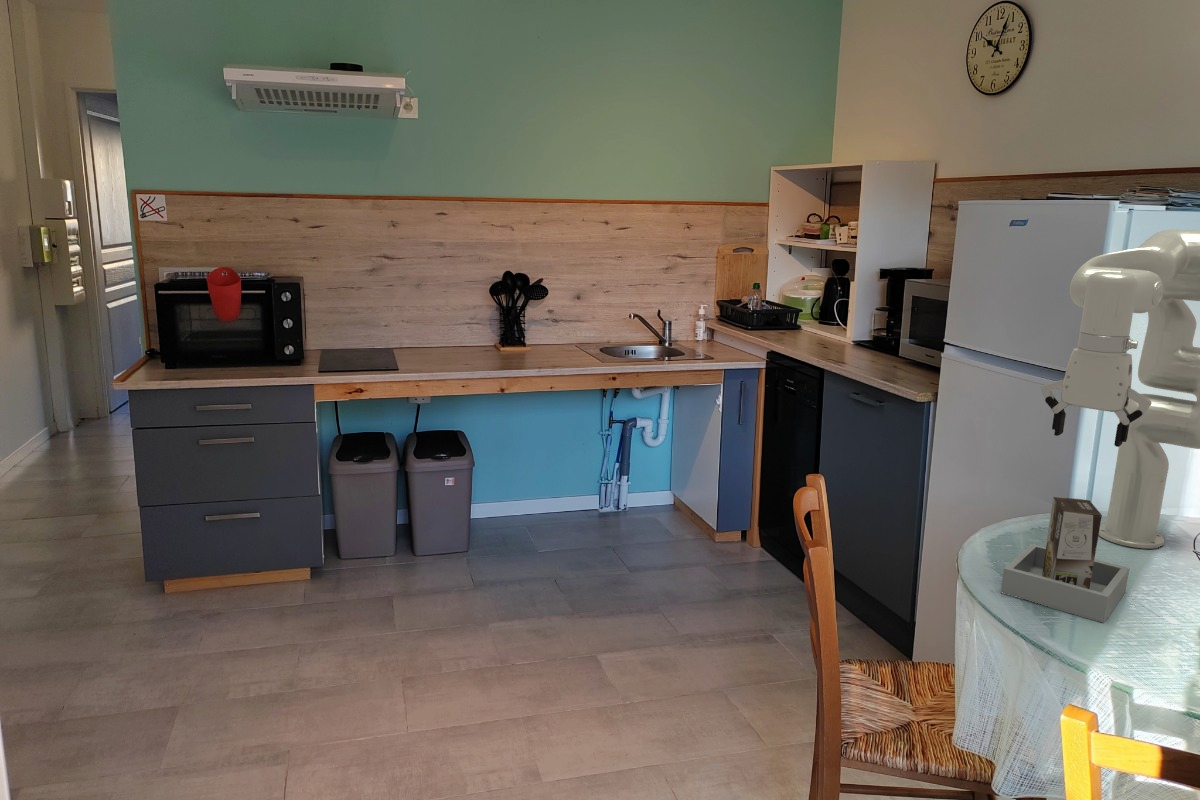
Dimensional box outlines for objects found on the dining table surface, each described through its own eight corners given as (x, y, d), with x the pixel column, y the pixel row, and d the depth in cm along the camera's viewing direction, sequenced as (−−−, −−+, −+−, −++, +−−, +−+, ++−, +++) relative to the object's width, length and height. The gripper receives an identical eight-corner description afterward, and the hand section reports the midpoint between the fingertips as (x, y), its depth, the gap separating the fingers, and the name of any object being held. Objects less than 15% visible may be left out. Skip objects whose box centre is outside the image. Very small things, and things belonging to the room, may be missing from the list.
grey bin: (1028, 566, 178) (1031, 543, 177) (1125, 592, 168) (1129, 568, 166) (1000, 592, 166) (1003, 568, 164) (1103, 623, 155) (1108, 596, 154)
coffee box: (1089, 601, 161) (1103, 515, 158) (1049, 595, 163) (1062, 510, 160) (1077, 581, 170) (1091, 499, 166) (1040, 576, 172) (1052, 495, 168)
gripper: (1164, 348, 154) (1147, 445, 158) (1054, 335, 165) (1041, 426, 168) (1155, 353, 148) (1138, 454, 152) (1042, 340, 159) (1029, 434, 163)
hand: (1087, 439), depth 160 cm, fingers open, 9 cm apart
